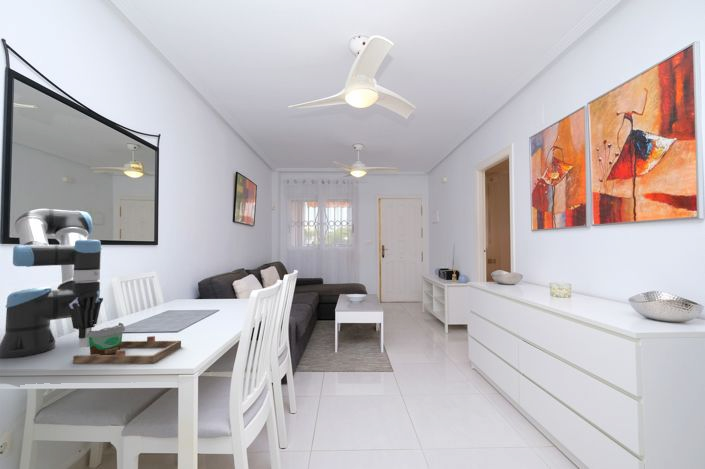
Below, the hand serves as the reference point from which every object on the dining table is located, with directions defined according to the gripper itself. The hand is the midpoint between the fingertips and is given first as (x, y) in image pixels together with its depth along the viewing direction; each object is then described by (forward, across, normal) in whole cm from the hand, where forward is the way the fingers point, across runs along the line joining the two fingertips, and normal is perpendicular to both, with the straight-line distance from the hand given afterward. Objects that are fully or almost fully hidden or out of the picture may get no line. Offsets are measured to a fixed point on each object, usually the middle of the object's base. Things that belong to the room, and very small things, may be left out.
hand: (84, 346), depth 112 cm
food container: (+3, 0, -9) cm, 10 cm away
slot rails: (+3, 0, -16) cm, 17 cm away
